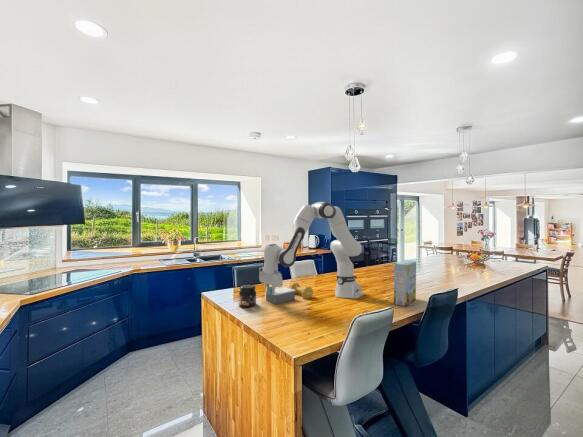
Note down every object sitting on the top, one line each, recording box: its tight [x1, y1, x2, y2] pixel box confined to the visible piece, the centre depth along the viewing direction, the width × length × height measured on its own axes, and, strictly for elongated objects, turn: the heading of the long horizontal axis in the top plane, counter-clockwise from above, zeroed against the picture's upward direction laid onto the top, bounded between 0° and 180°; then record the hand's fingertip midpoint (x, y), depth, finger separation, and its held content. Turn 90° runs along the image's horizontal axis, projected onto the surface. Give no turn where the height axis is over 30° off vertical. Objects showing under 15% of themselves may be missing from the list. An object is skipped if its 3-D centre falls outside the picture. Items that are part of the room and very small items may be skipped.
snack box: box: [393, 259, 417, 307], centre depth 185 cm, size 22×9×26 cm, turn 143°
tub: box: [265, 291, 296, 305], centre depth 188 cm, size 16×10×6 cm, turn 131°
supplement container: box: [238, 284, 257, 309], centre depth 177 cm, size 10×10×12 cm
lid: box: [265, 286, 295, 295], centre depth 187 cm, size 18×10×4 cm, turn 131°
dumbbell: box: [288, 281, 314, 299], centre depth 200 cm, size 19×9×8 cm, turn 35°
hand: (270, 291), depth 182 cm, fingers closed on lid, 3 cm apart
